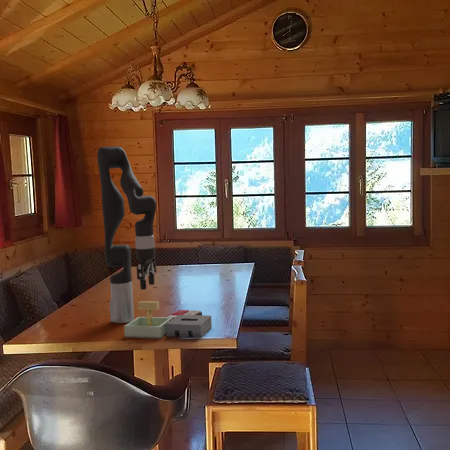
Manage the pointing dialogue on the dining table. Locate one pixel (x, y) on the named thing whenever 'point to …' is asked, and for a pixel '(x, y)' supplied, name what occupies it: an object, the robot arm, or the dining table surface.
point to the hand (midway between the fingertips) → (147, 286)
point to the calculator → (184, 313)
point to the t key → (148, 309)
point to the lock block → (189, 326)
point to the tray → (147, 328)
